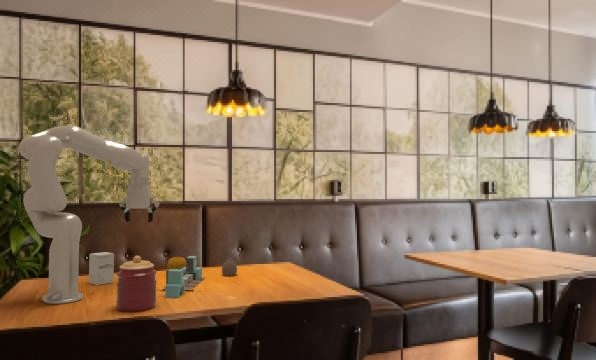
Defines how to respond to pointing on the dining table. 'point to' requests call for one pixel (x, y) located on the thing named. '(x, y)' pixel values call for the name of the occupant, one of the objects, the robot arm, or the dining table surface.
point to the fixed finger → (192, 267)
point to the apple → (176, 263)
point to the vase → (229, 267)
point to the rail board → (192, 284)
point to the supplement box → (101, 268)
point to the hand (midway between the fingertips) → (139, 221)
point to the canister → (136, 285)
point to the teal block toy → (174, 283)
